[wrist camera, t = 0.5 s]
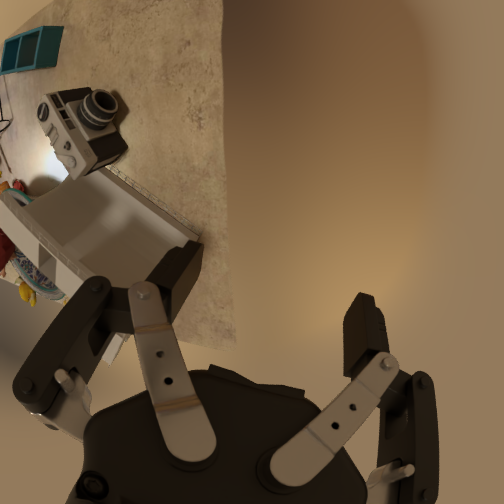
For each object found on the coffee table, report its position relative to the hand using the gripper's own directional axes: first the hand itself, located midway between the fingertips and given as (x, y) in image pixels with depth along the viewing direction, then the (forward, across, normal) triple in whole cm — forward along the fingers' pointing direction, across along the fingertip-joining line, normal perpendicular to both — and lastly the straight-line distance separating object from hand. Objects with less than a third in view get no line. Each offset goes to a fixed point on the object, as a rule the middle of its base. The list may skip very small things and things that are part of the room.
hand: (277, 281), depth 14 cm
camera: (+24, +30, 0) cm, 38 cm away
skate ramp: (+12, +25, +16) cm, 32 cm away
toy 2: (+24, +64, +40) cm, 80 cm away
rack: (+25, +52, -14) cm, 59 cm away
